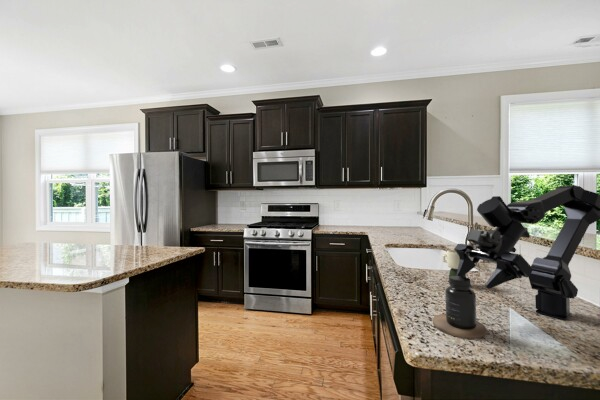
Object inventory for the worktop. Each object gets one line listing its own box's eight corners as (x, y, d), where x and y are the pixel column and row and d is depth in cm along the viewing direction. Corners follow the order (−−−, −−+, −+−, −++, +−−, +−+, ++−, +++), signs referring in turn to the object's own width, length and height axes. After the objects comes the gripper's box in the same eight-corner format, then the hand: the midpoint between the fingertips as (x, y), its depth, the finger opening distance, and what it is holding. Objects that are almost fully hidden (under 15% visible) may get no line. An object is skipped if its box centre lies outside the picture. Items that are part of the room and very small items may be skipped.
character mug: (476, 285, 105) (475, 252, 105) (470, 289, 100) (469, 254, 100) (446, 279, 113) (446, 248, 113) (439, 283, 108) (439, 250, 109)
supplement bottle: (457, 316, 75) (457, 273, 75) (482, 327, 68) (482, 280, 68) (439, 321, 72) (439, 276, 72) (463, 332, 66) (463, 283, 66)
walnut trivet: (495, 330, 69) (495, 326, 69) (471, 344, 62) (471, 339, 62) (447, 314, 79) (447, 310, 79) (423, 324, 72) (423, 320, 72)
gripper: (458, 216, 82) (428, 255, 80) (521, 221, 64) (484, 271, 61) (480, 241, 84) (451, 280, 81) (548, 252, 66) (512, 302, 63)
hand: (471, 282), depth 72 cm, fingers open, 9 cm apart
